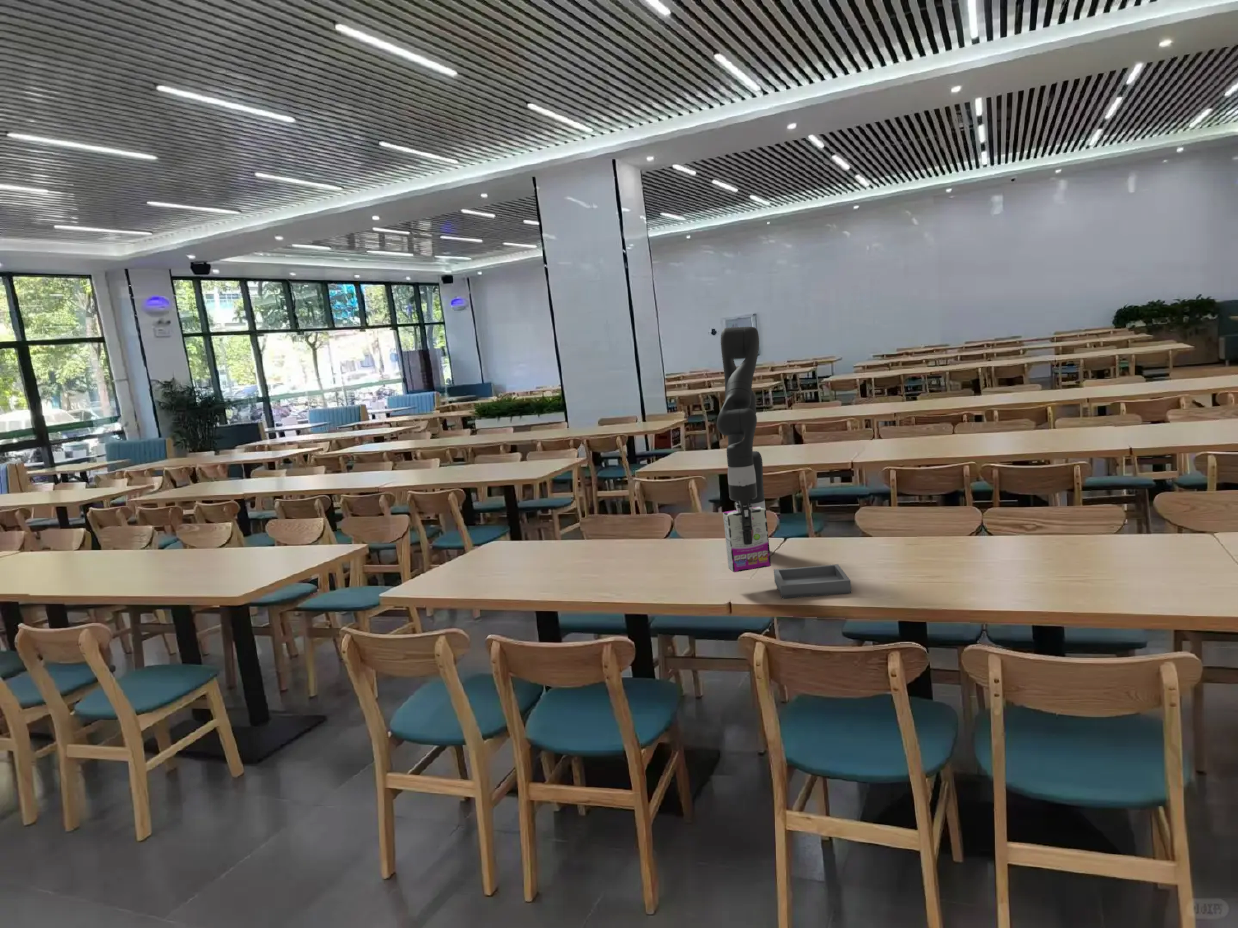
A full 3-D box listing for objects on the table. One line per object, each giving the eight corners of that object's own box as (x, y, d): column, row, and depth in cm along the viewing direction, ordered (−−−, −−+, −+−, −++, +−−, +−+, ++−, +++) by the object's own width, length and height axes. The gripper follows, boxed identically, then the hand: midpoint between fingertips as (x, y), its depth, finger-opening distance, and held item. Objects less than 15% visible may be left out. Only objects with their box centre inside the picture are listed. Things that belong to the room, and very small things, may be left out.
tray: (774, 581, 226) (773, 569, 226) (839, 576, 225) (838, 564, 224) (781, 598, 210) (780, 585, 210) (851, 593, 209) (850, 580, 208)
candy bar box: (764, 562, 225) (760, 505, 222) (771, 566, 220) (767, 508, 218) (727, 568, 223) (722, 511, 220) (733, 573, 218) (728, 514, 216)
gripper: (726, 478, 225) (731, 536, 228) (730, 487, 211) (735, 549, 214) (753, 475, 225) (758, 534, 227) (758, 485, 210) (763, 546, 213)
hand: (747, 541), depth 220 cm, fingers closed on candy bar box, 5 cm apart
